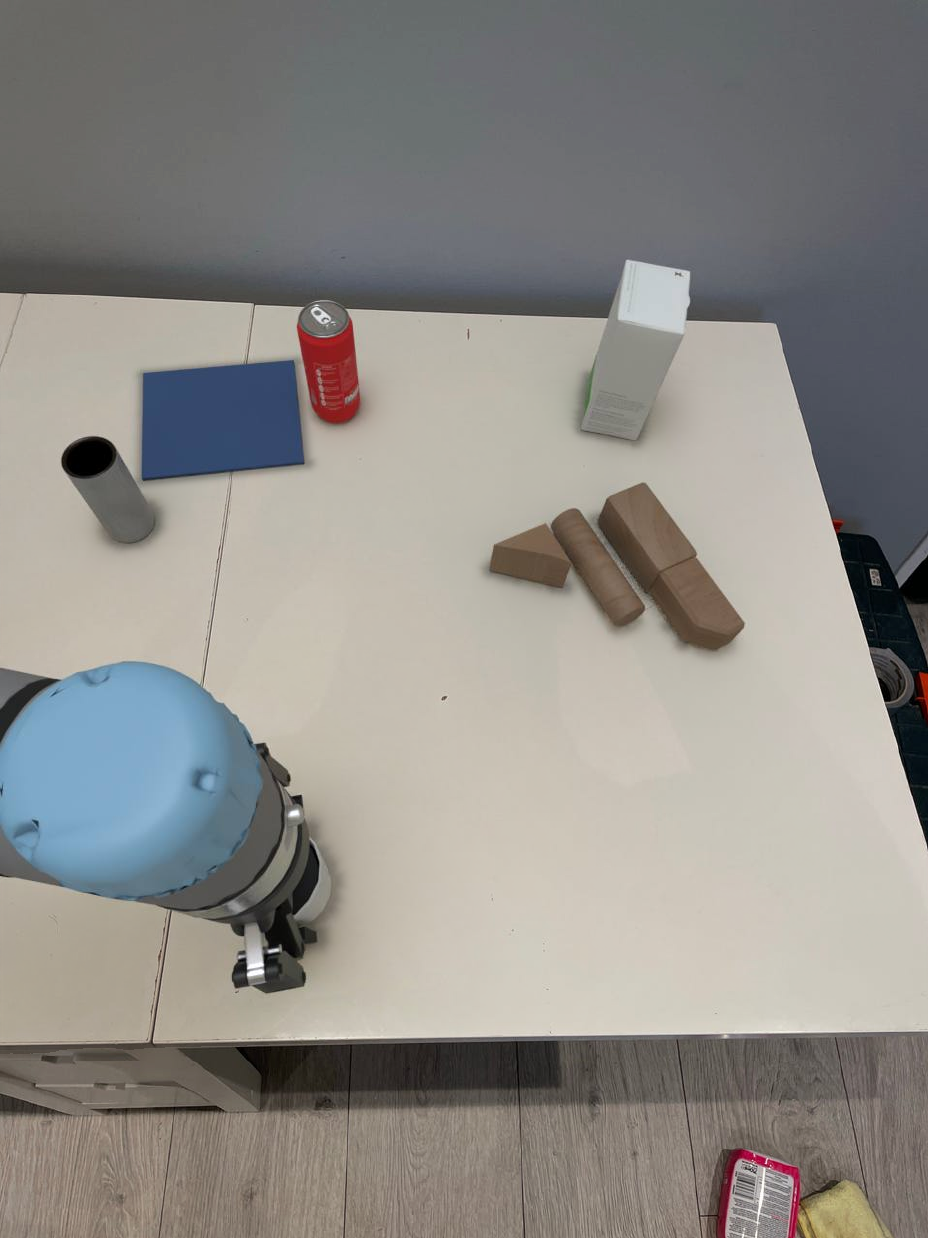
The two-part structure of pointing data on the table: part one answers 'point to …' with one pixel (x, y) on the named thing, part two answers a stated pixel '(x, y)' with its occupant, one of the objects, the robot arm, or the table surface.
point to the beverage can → (329, 360)
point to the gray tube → (108, 488)
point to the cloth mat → (220, 420)
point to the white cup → (311, 888)
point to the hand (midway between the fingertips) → (295, 887)
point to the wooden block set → (647, 552)
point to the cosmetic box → (636, 348)
